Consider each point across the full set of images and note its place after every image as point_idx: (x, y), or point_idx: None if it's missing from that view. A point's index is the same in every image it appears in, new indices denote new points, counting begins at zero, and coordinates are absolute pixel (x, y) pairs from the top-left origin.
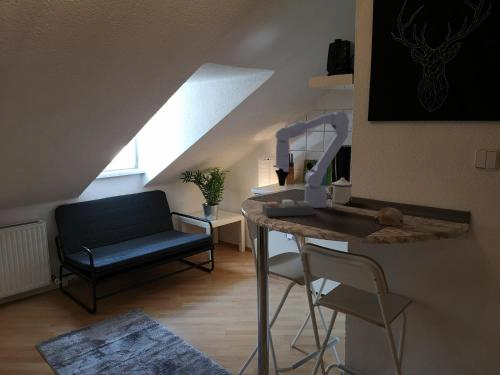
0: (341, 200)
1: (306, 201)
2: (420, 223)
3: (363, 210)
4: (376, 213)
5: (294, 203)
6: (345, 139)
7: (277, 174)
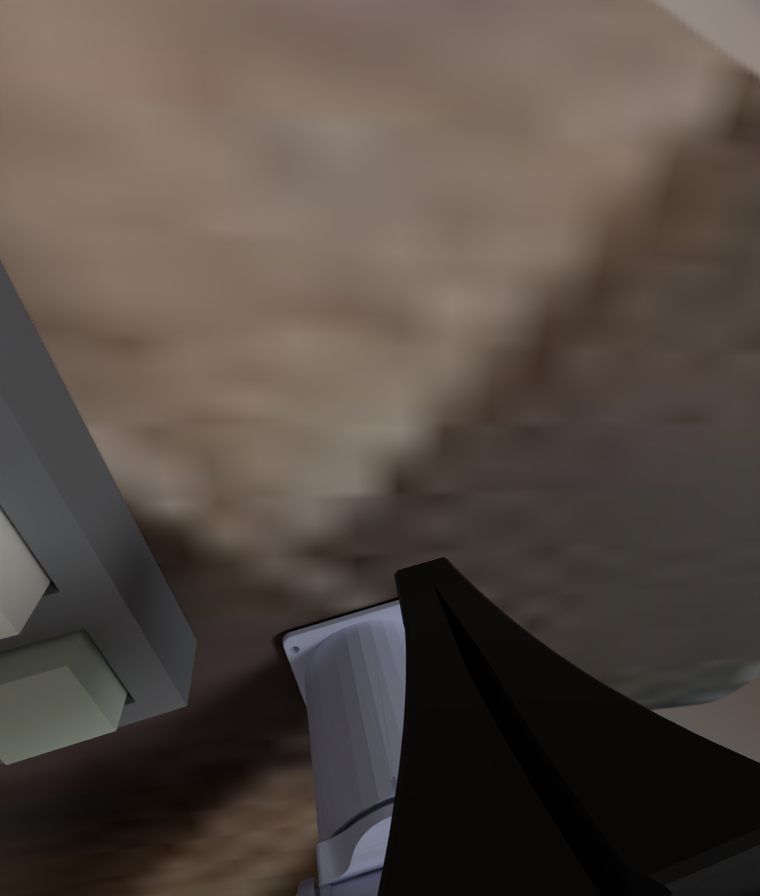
0: None
1: (70, 740)
2: None
3: (263, 865)
4: None
5: (101, 615)
6: None
7: (545, 749)
